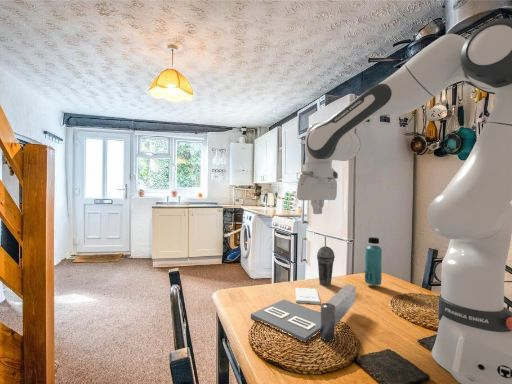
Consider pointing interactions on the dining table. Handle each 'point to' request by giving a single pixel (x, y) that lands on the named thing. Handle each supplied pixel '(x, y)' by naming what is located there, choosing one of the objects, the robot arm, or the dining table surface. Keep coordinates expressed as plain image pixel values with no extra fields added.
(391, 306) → the dining table surface
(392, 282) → the dining table surface
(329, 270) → the beverage cup
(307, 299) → the external hard drive
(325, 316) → the grey rectangular block
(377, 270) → the beverage bottle
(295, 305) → the label panel
